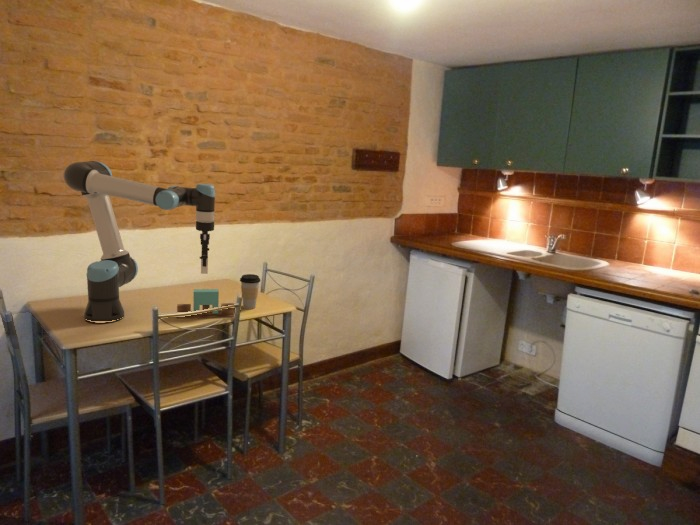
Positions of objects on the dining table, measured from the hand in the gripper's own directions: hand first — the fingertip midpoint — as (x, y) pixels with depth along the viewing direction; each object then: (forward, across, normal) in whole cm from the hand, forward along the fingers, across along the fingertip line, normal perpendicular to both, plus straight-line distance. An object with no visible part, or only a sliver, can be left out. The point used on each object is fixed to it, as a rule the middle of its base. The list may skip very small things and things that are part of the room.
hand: (204, 269), depth 221 cm
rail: (+21, -1, -1) cm, 21 cm away
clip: (+19, -1, -1) cm, 19 cm away
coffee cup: (+21, +10, -21) cm, 31 cm away
